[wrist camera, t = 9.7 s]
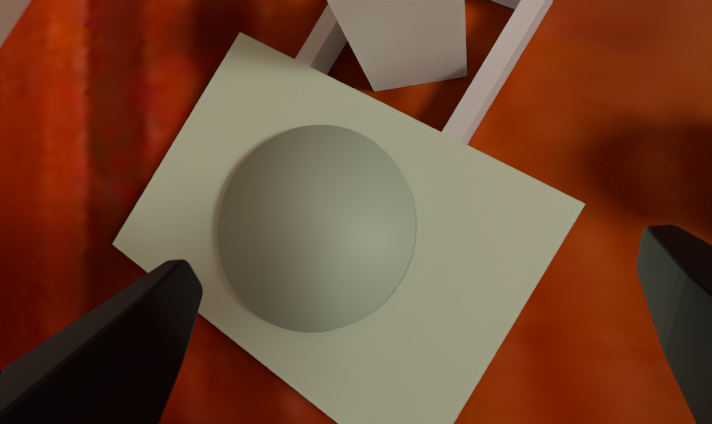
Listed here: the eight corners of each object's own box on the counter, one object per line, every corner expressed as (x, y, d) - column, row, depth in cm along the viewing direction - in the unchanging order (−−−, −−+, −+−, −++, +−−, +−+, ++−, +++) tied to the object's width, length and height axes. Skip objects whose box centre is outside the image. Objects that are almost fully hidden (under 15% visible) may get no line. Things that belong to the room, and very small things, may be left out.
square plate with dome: (421, 466, 20) (413, 494, 18) (138, 246, 26) (100, 243, 24) (673, 47, 20) (703, 11, 18) (333, -77, 27) (317, -117, 24)
